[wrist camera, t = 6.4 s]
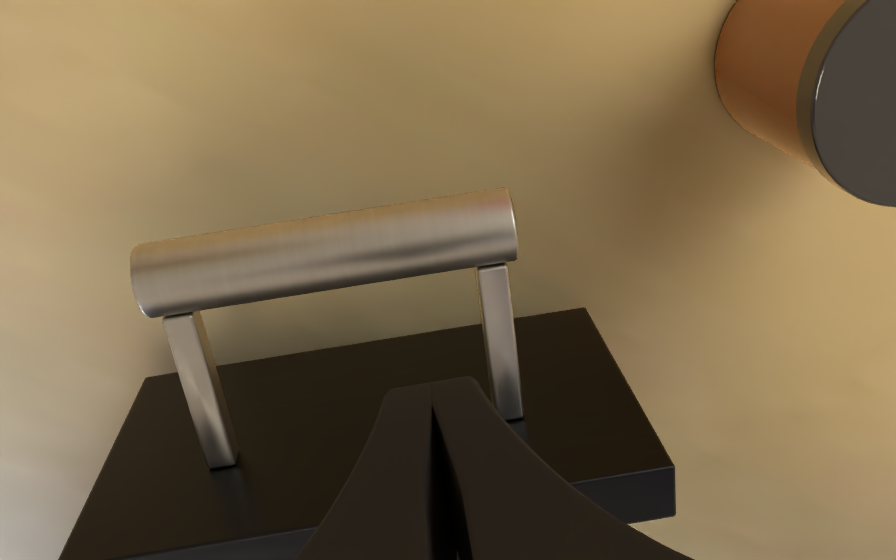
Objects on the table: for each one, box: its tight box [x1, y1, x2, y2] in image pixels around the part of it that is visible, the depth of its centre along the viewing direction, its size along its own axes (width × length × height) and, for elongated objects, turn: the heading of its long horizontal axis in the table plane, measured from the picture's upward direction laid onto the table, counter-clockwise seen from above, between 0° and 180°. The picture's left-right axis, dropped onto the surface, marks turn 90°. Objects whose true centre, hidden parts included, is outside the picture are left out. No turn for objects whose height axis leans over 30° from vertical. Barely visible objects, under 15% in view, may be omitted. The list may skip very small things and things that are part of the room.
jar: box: [715, 0, 896, 207], centre depth 18 cm, size 5×5×5 cm
